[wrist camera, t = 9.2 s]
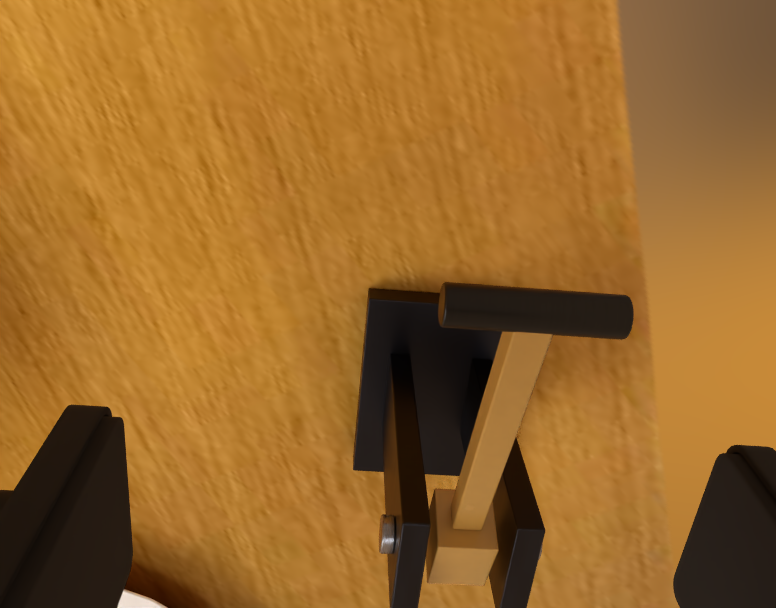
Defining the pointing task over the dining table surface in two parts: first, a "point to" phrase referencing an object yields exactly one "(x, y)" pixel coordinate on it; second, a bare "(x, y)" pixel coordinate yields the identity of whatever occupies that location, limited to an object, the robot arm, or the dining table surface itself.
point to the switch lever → (503, 406)
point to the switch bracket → (434, 440)
